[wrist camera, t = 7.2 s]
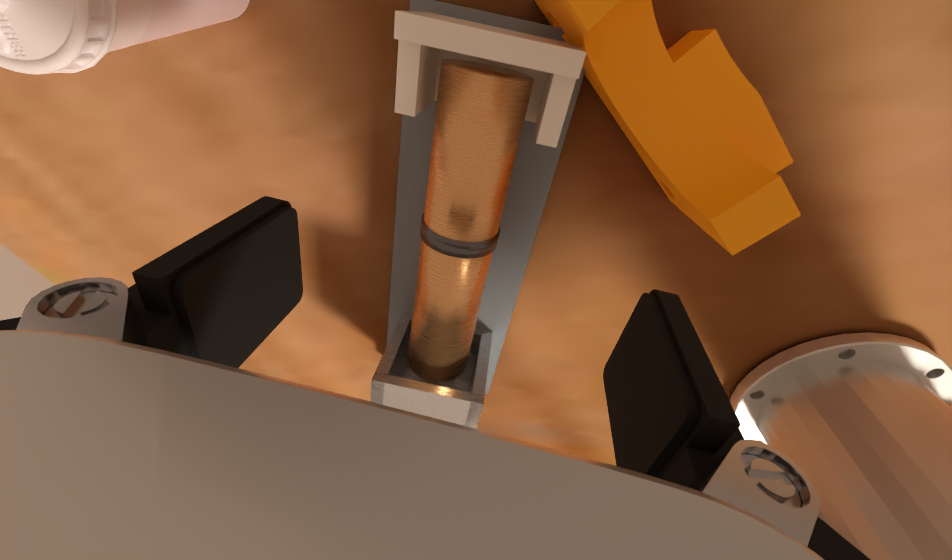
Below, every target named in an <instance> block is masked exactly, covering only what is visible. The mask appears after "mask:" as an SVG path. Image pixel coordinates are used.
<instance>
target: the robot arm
mask: <svg viewBox="0 0 952 560" xmlns="http://www.w3.org/2000/svg"><path fill="white" fill-rule="evenodd" d="M132 274H133V277H134V280H135V282H136V284H134V285H133V286H131V287H130V288H127V286H126V285H125V284H123V283H122V282H121V281H118V280H115V279H111V278H100V277H98V278H83V279H78V280H72V281H68V282H65V283H61V284H58V285H55V286H53V287H50V288H48V289H46V290H44V291H42V292H40V293H39V294H37V295H36V296H35V297H33V298H32V299H31V300H30V301H29V303H28V304H27V305H26V307H25V309H24V311H23V314H22V317H19V318H13V319H7V320H2V321H0V560H952V408H951V404H952V368H951V367H950V366H949V365H948V364H947V363H946V362H945V361H944V360H943V359H942V358H941V357H940V356H939V355H937V354H936V353H935V352H933V351H932V350H931V349H930V348H928V347H927V346H926V345H924V344H922V343H919V342H917V341H915V340H912V339H910V338H907V337H902V336H897V335H893V334H885V333H870V332H866V333H850V334H840V335H835V336H829V337H824V338H819V339H816V340H812V341H809V342H806V343H802V344H799V345H797V346H794V347H792V348H789V349H787V350H785V351H782V352H780V353H778V354H776V355H775V356H773V357H771V358H769V359H768V360H766V361H764V362H762V363H761V364H760V365H759V366H757V367H756V368H755V369H753V370H752V371H751V372H749V373H748V374H747V375H746V377H745V378H744V379H743V380H742V381H741V382H740V383H739V384H738V385H737V387H736V389H735V390H734V392H733V394H732V395H731V398H730V401H729V399H728V397H727V395H726V393H725V391H724V389H723V387H722V385H721V383H720V381H719V379H718V376H717V374H716V372H715V370H714V368H713V366H712V364H711V362H710V360H709V358H708V356H707V354H706V352H705V350H704V348H703V345H702V343H701V341H700V339H699V337H698V335H697V333H696V331H695V329H694V327H693V325H692V323H691V321H690V319H689V317H688V315H687V312H686V310H685V308H684V306H683V304H682V302H681V300H680V298H679V296H678V295H676V294H672V293H668V292H664V291H659V290H655V289H654V290H652V291H651V292H650V293H649V294H648V293H644V294H643V295H642V296H641V297H640V299H639V301H638V303H637V305H636V307H635V309H634V311H633V313H632V315H631V317H630V319H629V321H628V323H627V324H626V326H625V328H624V330H623V332H622V334H621V336H620V338H619V340H618V342H617V344H616V346H615V348H614V350H613V352H612V354H611V356H610V357H609V359H608V361H607V363H606V365H605V368H604V373H603V380H604V386H605V393H606V399H607V406H608V412H609V419H610V425H611V432H612V439H613V445H614V452H615V458H616V465H617V466H614V465H610V464H607V463H603V462H599V461H596V460H592V459H588V458H585V457H581V456H578V455H574V454H570V453H566V452H562V451H559V450H555V449H551V448H547V447H543V446H539V445H536V444H532V443H528V442H524V441H520V440H517V439H513V438H509V437H505V436H501V435H497V434H494V433H490V432H486V431H482V430H478V429H475V428H471V427H467V426H463V425H459V424H455V423H451V422H448V421H444V420H440V419H436V418H432V417H428V416H424V415H420V414H416V413H413V412H409V411H405V410H401V409H397V408H393V407H389V406H385V405H381V404H377V403H374V402H370V401H366V400H362V399H358V398H354V397H350V396H346V395H342V394H338V393H334V392H330V391H326V390H323V389H319V388H315V387H311V386H307V385H303V384H299V383H295V382H291V381H287V380H283V379H279V378H275V377H271V376H267V375H263V374H259V373H255V372H251V371H247V370H243V369H239V367H240V365H241V364H242V363H243V362H244V361H245V360H246V359H247V358H248V357H249V356H250V355H251V354H252V352H253V351H254V350H255V349H256V348H257V347H258V346H259V345H260V344H261V343H262V342H263V341H264V340H265V338H266V337H267V336H268V335H269V334H270V333H271V332H272V331H273V330H274V329H275V328H276V327H277V325H278V324H279V323H280V322H281V321H282V320H283V319H284V318H285V317H286V316H287V315H288V314H289V313H290V311H291V310H292V309H293V308H294V307H295V306H296V305H297V304H298V303H299V301H300V300H301V297H302V294H303V284H302V271H301V258H300V245H299V232H298V219H297V212H296V210H295V209H294V208H292V206H291V204H290V203H289V202H288V201H284V200H280V199H276V198H272V197H267V196H265V197H262V198H260V199H259V200H257V201H255V202H253V203H252V204H250V205H248V206H246V207H245V208H243V209H241V210H240V211H238V212H236V213H234V214H233V215H231V216H229V217H227V218H226V219H224V220H222V221H220V222H219V223H217V224H215V225H214V226H212V227H210V228H208V229H207V230H205V231H203V232H201V233H200V234H198V235H196V236H194V237H193V238H191V239H189V240H188V241H186V242H184V243H182V244H181V245H179V246H177V247H175V248H174V249H172V250H170V251H169V252H167V253H165V254H163V255H162V256H160V257H158V258H156V259H155V260H153V261H151V262H149V263H148V264H146V265H144V266H143V267H141V268H139V269H137V270H136V271H134V272H132Z"/></svg>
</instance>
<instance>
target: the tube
mask: <svg viewBox="0 0 952 560" xmlns="http://www.w3.org/2000/svg"><path fill="white" fill-rule="evenodd" d="M533 83H534V78H532V77H531V76H529V75H526V74H524V73H521V72H518V71H515V70H511V69H508V68H504V67H500V66H496V65H491V64H486V63H481V62H476V61H469V60H462V59H442V61H441V70H440V79H439V87H438V96H437V105H436V114H435V123H434V132H433V140H432V149H431V158H430V167H429V176H428V184H427V193H426V202H425V211H424V213H423V214H422V218H421V227H420V237H421V246H420V255H419V264H418V272H417V281H416V290H415V299H414V308H413V316H412V325H411V334H410V343H409V352H408V363H409V366H410V368H411V369H412V371H413V372H414V373H415V374H416V375H418V376H419V377H421V378H423V379H425V380H428V381H432V382H448V381H451V380H454V379H456V378H457V377H459V376H460V375H461V374H462V373H463V372H464V370H465V368H466V364H467V360H468V356H469V352H470V347H471V343H472V339H473V335H474V331H475V326H476V322H477V318H478V314H479V310H480V305H481V301H482V297H483V293H484V289H485V284H486V280H487V276H488V272H489V268H490V263H491V259H492V255H493V251H494V250H495V249H496V247H497V243H498V239H499V235H500V221H501V217H502V213H503V209H504V204H505V200H506V196H507V192H508V188H509V183H510V179H511V175H512V171H513V167H514V162H515V158H516V154H517V150H518V146H519V141H520V137H521V133H522V129H523V125H524V120H525V116H526V112H527V108H528V104H529V99H530V95H531V91H532V87H533Z"/></svg>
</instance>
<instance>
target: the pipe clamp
mask: <svg viewBox="0 0 952 560" xmlns="http://www.w3.org/2000/svg"><path fill="white" fill-rule="evenodd" d="M534 1H535V2H536V4H537V5H538V7H539V8H540V10H541V11H542V13H543V14H544V16H545V17H546V19H547V20H548V22H549V23H550V25H551V26H554V27H559V28H562V30H563V31H564V33H565V34H564V35H562V37H563V39H564V40H565V42H567V43H569V44H572V45H574V46H577V47H579V48H581V49H582V50H584V51H585V52H587V53H586V56H585V59H584V63H583V66H582V67H583V68H584V70H585V74H584V75H585V76H586V78H587V79H588V81H589V82H590V84H591V85H592V86H593V88H594V89H595V91H596V92H597V94H598V95H599V97H600V98H601V100H602V101H603V103H604V104H605V106H606V107H607V109H608V110H609V112H610V113H611V114H612V116H613V117H614V119H615V120H616V122H617V123H618V125H619V126H620V128H621V129H622V131H623V132H624V134H625V135H626V137H627V138H628V139H629V141H630V142H631V144H632V145H633V147H634V148H635V150H636V151H637V153H638V154H639V156H640V157H641V159H642V160H643V162H644V163H645V165H646V166H647V167H648V169H649V170H650V172H651V173H652V175H653V176H654V178H655V179H656V181H657V182H658V184H659V185H660V187H661V188H662V190H663V191H664V193H665V194H666V195H667V197H668V198H669V200H670V201H671V202H672V203H673V204H674V205H675V206H676V207H678V208H679V209H680V210H681V211H682V212H683V213H684V214H686V215H687V216H688V217H689V218H690V219H691V220H692V221H694V222H695V223H696V224H697V225H698V226H699V227H700V228H702V229H703V230H704V231H705V232H706V233H707V234H708V235H710V236H711V237H712V238H713V239H714V240H715V241H716V242H718V243H719V244H720V245H721V246H722V247H723V248H724V249H726V250H727V251H728V252H729V253H730V254H731V255H732V256H733V255H735V254H737V253H738V252H740V251H742V250H743V249H745V248H747V247H748V246H750V245H752V244H754V243H755V242H757V241H759V240H760V239H762V238H764V237H765V236H767V235H769V234H770V233H772V232H774V231H775V230H777V229H779V228H781V227H782V226H784V225H786V224H787V223H789V222H791V221H792V220H794V219H796V218H797V217H799V216H801V214H800V212H799V210H798V208H797V206H796V204H795V202H794V200H793V198H792V196H791V195H790V193H789V191H788V189H787V187H786V185H785V183H784V181H783V179H782V178H781V176H780V175H778V174H776V173H777V172H779V171H781V170H782V169H784V168H785V167H787V166H788V165H790V164H791V163H793V162H794V161H793V159H792V157H791V155H790V153H789V151H788V149H787V147H786V145H785V143H784V141H783V139H782V137H781V135H780V133H779V131H778V129H777V127H776V125H775V124H774V122H773V120H772V118H771V116H770V114H769V112H768V110H767V108H766V106H765V104H764V102H763V100H762V98H761V96H760V94H759V92H758V91H757V90H756V89H755V88H754V87H753V86H752V85H751V83H750V82H749V81H748V80H747V79H746V77H745V76H744V75H743V73H742V72H741V71H740V69H739V68H738V67H737V65H736V64H735V62H734V61H733V59H732V58H731V56H730V55H729V53H728V51H727V49H726V48H725V46H724V44H723V42H722V40H721V38H720V37H719V35H718V33H717V30H716V29H707V30H696V31H690V32H689V33H688V34H686V35H685V36H684V37H683V38H681V39H680V40H679V41H678V42H676V43H675V44H674V45H673V46H671V47H670V48H669V49H668V50H667V49H666V47H665V45H664V42H663V40H662V37H661V35H660V32H659V29H658V26H657V23H656V19H655V15H654V11H653V5H652V0H534Z"/></svg>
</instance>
